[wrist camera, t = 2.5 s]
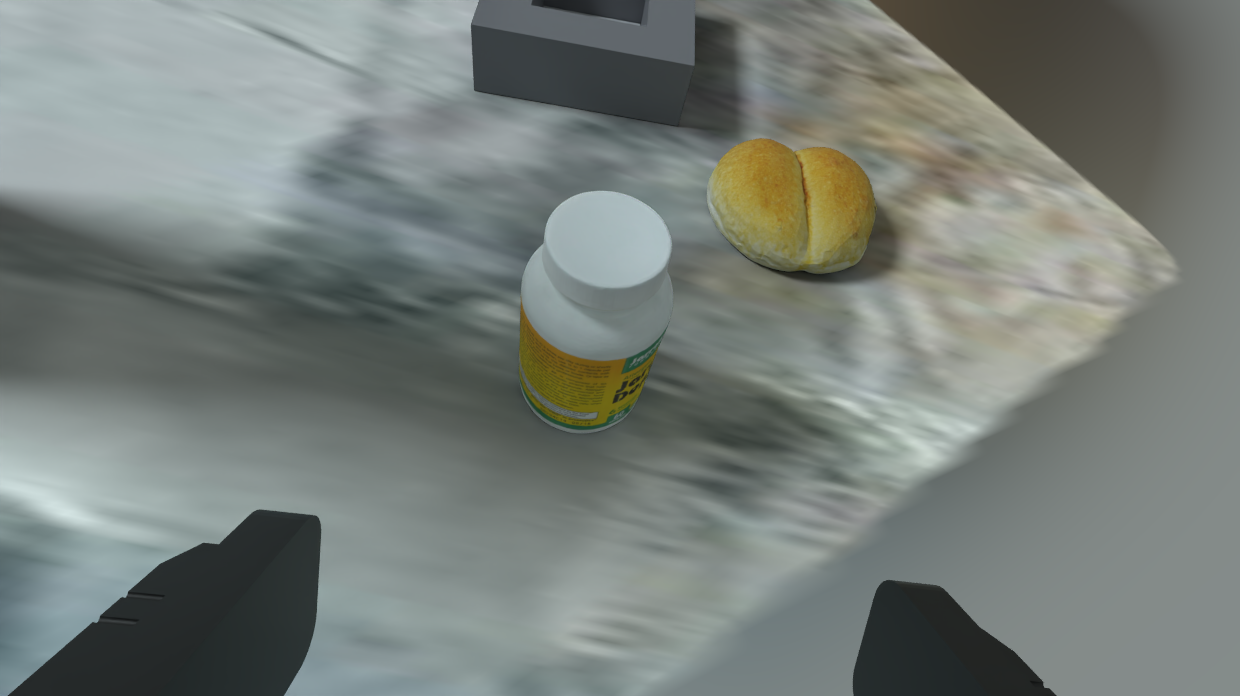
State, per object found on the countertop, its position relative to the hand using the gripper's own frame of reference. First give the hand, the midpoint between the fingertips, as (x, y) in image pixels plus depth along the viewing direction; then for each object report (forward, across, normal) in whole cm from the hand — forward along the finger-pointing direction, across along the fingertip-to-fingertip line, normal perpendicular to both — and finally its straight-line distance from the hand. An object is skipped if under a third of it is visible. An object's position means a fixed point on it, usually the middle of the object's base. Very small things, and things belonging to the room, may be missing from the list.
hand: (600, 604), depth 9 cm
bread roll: (+28, -10, -6) cm, 30 cm away
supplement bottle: (+19, 0, +2) cm, 19 cm away
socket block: (+36, +2, -15) cm, 39 cm away
